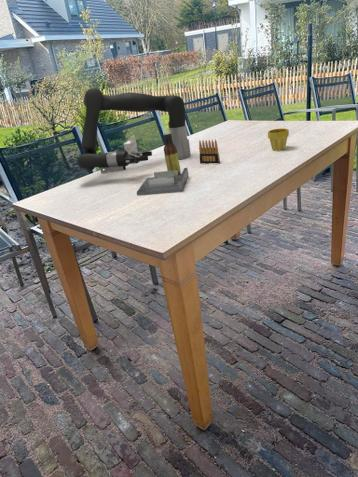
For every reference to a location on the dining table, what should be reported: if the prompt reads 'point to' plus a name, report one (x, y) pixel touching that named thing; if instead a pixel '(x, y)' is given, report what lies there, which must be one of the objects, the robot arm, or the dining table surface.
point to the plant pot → (278, 138)
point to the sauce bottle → (171, 154)
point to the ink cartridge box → (131, 145)
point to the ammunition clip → (208, 152)
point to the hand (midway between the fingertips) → (149, 155)
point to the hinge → (112, 169)
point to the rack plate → (164, 182)
